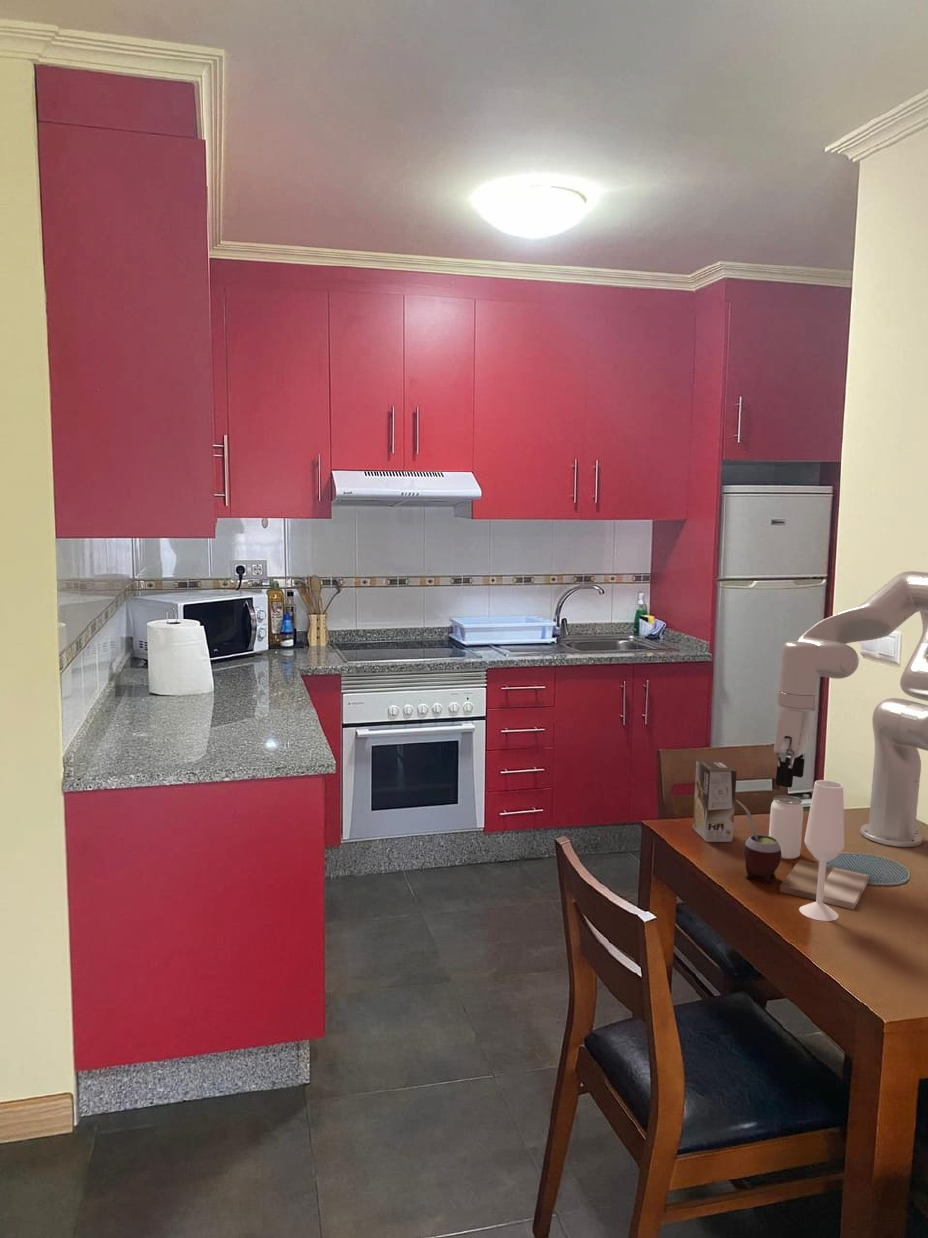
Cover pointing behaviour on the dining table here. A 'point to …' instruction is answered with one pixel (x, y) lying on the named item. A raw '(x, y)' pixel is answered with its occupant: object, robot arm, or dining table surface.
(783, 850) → the can
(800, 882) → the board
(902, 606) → the robot arm
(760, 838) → the mate gourd
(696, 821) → the coffee box
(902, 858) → the dining table surface
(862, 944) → the dining table surface
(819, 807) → the champagne flute
